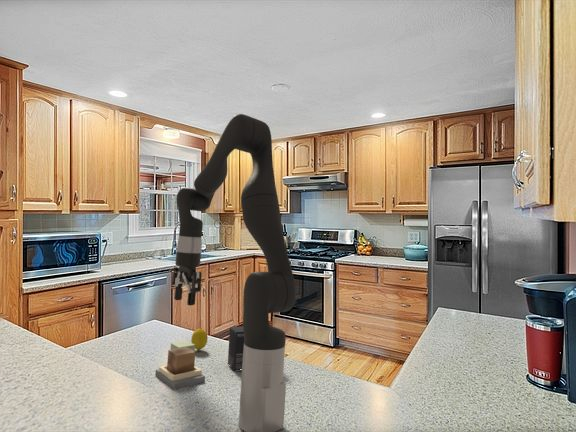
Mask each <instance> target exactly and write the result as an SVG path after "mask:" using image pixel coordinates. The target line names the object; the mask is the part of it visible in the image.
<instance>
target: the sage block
mask: <svg viewBox="0 0 576 432" xmlns="http://www.w3.org/2000/svg"><path fill="white" fill-rule="evenodd" d="M184 347H187V348H189V349H191V350H192V351H194V352H195V353H196V351H195V350H196V349H195V345H194V344H192V342H191V341H188V340H183V341H182V340H181V341H176V342H175V341H174V342H170V349H169V350H172V349H178V348H184Z"/></svg>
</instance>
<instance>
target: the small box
mask: <svg viewBox="0 0 576 432" xmlns="http://www.w3.org/2000/svg"><path fill="white" fill-rule="evenodd" d="M228 335H229V336H228V337H229V338H228V350H227V351H228V355H227V365H228V364H229V365H230V367H231V368H232V369H233V370H232V369H231V368H230V367H229V368H230V369H231V370H232V371H233V372H234V371H236V370H240V369H242V364H243V350H244V331H243V326H234V327H233V326H231V327H229V334H228ZM236 372H237V371H236Z"/></svg>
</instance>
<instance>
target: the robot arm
mask: <svg viewBox="0 0 576 432" xmlns="http://www.w3.org/2000/svg"><path fill="white" fill-rule="evenodd" d="M272 141H273V140H272V133H271V129H270V126H269V125H268V124H267V123H266V122H264V121H262V120H260V119H258V118H255V117H252V116H250V115H247V114H243V113H238V114H235V115H233V117H232V118H230V120H229V121H228V123H227V124H226V126H225V128H224V130H223V132H222V134H221V136H220V138H219V140H218V142H217V144H216V146H215V148H214V150H213V151H212V154H211V156H210V158H209V160H207V161H208V162H207V163H206V165H205V166H204V167H203V169H202V170H201V171H200V172H199V173H198V175H197V177H196V178H195V180H194V182H193V186H194V188H193V187H182V188H180V189H179V191H178V192H177V195H176V206H177V210H178V216H179V230H178V232H179V233H178V240H177V243H176V253H175V254H176V255H175V265H176V266H174V267H173V272H172V280H171V286H174V287H173V288H174V289H175V290H174V300H175V301H181V300H182V298H183V287H184V286H185V287H186V288H187V291H188V293H187V302H186V303H187V306H194V305H195V304H196V296H197V293H198V292H200V293H201V291H202V288H201V287H202V272H201V271H197V268H198V267H200V266H201V257H202V247H203V246H202V244H203V243H202V241H203V240H202V238H203V237H202V236H203V227H204V226H203V225H204V224H203V220H202V219H200V218H198V217H194V216H193V214H192V211H196V212H203V211H205V212H206V210H208V209H209V208H210V207H211V204H212V202H213V198H214V196H215V194H216V192H217V191H218V189H219V188H220V187H221V186H222V185H223V183H224V182H225V180H226V178H227V176H228V159H229V155H230V154H231V153H232V152H233V151H234V150H238V151H241V152H245V153H248V154H249V155H250V156H251V160H252V161H251V162H252V171H251V174H250V177H249V178H248V179H247V181H246V183H245V185H244V187H243V189H242V192H241V196H240V204H241V210H242V211H241V213H242V218H243V219H242V220H243V223H244V225H245V227H246V229H247V231H248V233H249V234H250V235H251V237H252V238H253V240H254V241H255V243H257V245H258V246H259V248H260V249H261V251H262V253H263V255H264V257H265V260H266V261H265V262H266V264H267V269H268V271H253V272H252V273H251V272H250V273H249V274H248V276H247V278H246V280H245V282H244V286H243V298H242V299H243V301H242V304H243V305H242V306H243V310H242V315H243V316H242V327H243V331H244V350H243V364H242V371H241V380H240V392H239V393H240V395H239V396H240V397H239V409H238V410H239V411H238V412H239V413H238V427H239V428H240V429H241V430H242V431H243V430H244V431H243V432H278V431H280V430H282V429H284V426H285V425H284V424H285V408H286V393H287V392H286V391H287V389H286V388H287V384H286V382H284V369H285V355H286V354H285V353H286V351H285V350H286V339H287V336H286V332H285V331H284V330H283V329H281V328H278V327H275V326H273V325H271V324H270V319H269V318H270V316H269V314H274V313H285V312H288V311H291V310H292V309H293V307H294V305H295V303H296V299H297V291H296V290H297V289H296V282H295V277H294V273H293V269H292V265H291V263H290V258H289V255H288V254H289V253H288V250H287V246H286V241H285V236H284V231H283V226H282V225H283V224H282V218H281V209H280V204H279V203H280V202H279V198H278V197H279V195H278V192H277V186H276V179H275V172H274V171H275V170H274V163H273V162H274V161H273V144H272Z"/></svg>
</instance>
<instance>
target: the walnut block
mask: <svg viewBox="0 0 576 432" xmlns="http://www.w3.org/2000/svg"><path fill="white" fill-rule="evenodd" d="M195 361H196V351H195V352H194V351H192V350H191V349H189V348H187V347H184V348H178V349H172V350H170V349H168V352H167V364H166V365H167V370H168V371H169V372H171V373H172V374H174V375H176V374H181V373H185V372H190V371H194V366H195Z"/></svg>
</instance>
